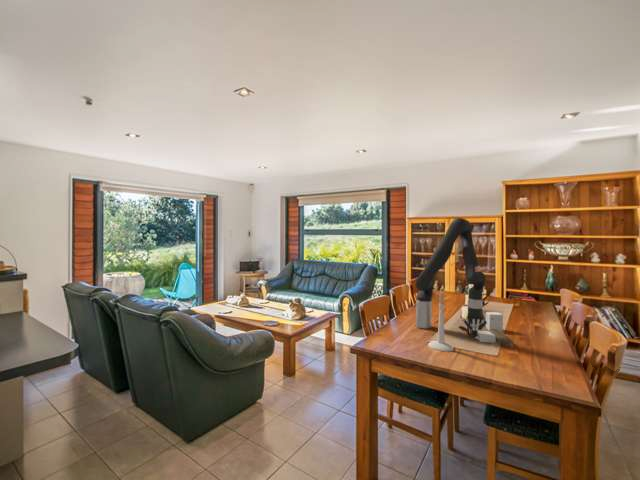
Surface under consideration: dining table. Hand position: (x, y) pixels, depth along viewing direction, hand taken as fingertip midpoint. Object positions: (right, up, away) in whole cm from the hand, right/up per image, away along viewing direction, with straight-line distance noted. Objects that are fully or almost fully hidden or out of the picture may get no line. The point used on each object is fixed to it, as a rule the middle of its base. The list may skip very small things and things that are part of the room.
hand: (474, 336), depth 177 cm
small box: (+21, -2, +18) cm, 28 cm away
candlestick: (-24, -2, -12) cm, 27 cm away
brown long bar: (+14, -2, -2) cm, 14 cm away
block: (+6, -2, 0) cm, 6 cm away
